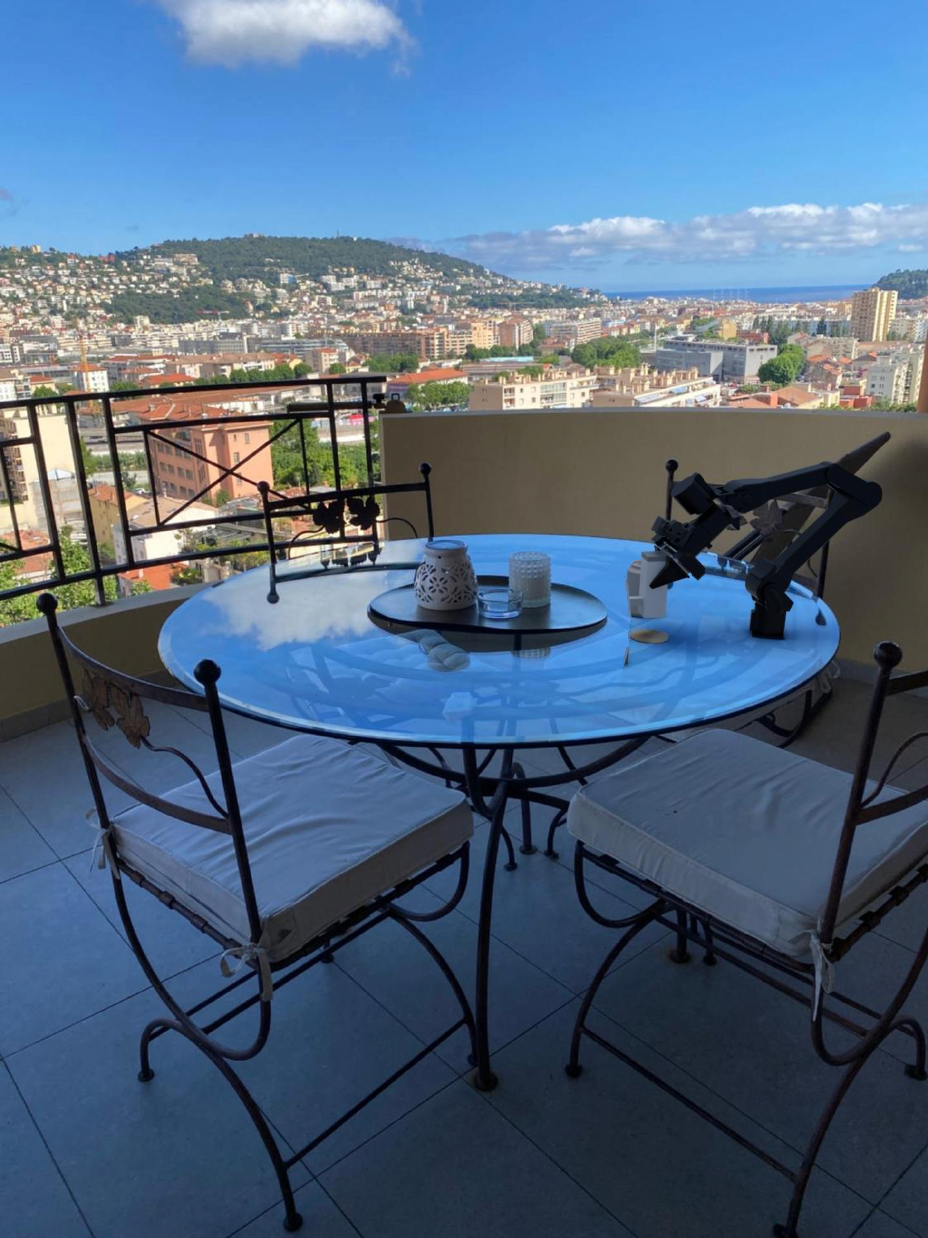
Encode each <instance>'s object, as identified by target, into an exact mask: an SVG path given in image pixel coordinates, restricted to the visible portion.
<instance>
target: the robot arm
mask: <svg viewBox="0 0 928 1238" xmlns="http://www.w3.org/2000/svg"><path fill="white" fill-rule="evenodd" d="M825 485H827V486H829V488H831V489H833V490H834V494H832V495H833V496H832V498H831V501H830V502H829V503H830V504H829V506H828V507H827V509H826V510H825V511H823V513H821V515H820V516H818V518H816V519H815V520H814V521H813V522H812V523H811V524H810V525H809V526H807V528H806V529H805V530H804V531H803V532H802V533H801V534H800V535H799V536H798V537H797V538H796V539H795V540H793V542H791V543H790V544H789V545H788V547H786V548H785V549H784V551H782V552H781V553H780V554H779V555H778V556H777V557H774V559H771V560H769V559H767V558H765V557H761V558H760V559H759V560H758V562H757V563H756V564H755V565H754V566H753V567H751V568H750V569H748V570H747V571H748V572H749V573H748V574H747V575H746V577H745V579H744V587H745V590H746V591H747V593H749V594H750V596H751V600H752V601H753V602H754V606H753V607H754V608H752V609H751V610H750V615H749V623H748V624H749V625H748V628H749V629H748V630H749V632H750V633H751V636H752V637H754V638H755V637H756V638H765V639H766V638H767V639H778V640H784V639H785V638H786V636H785V627H786V621H787V619H786V618H787V612H791V609H792V608H793V606H794V603H795V602H794V601H793V600H792V598H790V596H789V595H788V594H787V593H786V591H787V590H788V589H789V588H790V586H791V584H792V581H793V578H794V575H796V573H797V572H798V571H799V569H801V567H803V566H804V564H805V563H808V561H809V560H810V559H811V558H812V557H813V556H814V555H815V554H816V553H817V552H818V551H819V550H821V548H823V547H824V546H825V545H826V544H827V543H828V542H829V541H830V540H831V539H832V538H833V537H834V536H835V535H836V534H837V533H838V532H839V531H840V530H842V529H843V528H844V527H845V525H847V524H849V523H850V522H852V521H855V520H858V519H860V518H862V517H864V516H866V515H867V514H869V513H870V512H872V511H873V510H874V509H875V508H877V507H878V506H879V505H880V503H881V502H882V500H883V488H882V487H881V485H880V484H879V483H877V482H875V481H872V480H868V479H866V478H863V477H862V478H861V477H860V476H858V475H856V474H854V473H852V472H851V471H849V470H847V469H845V468H844V467H842V465H840V464H839V463H835V462H832V461H828V460H824V461H821V462H820V463H817V464H814V465H809V466H806V467H802V468H798V469H794V470H791V471H787V472H783V473H780V474H777V475H772V476H769V477H764V478H763V477H762V478H761V477H760V478H739V479H733V480H729V481H728V482H726V483H725V484H724V485H721V486H715V487H711V486H710V485H709V484H708V483H707V482H706V480H705V479H704V477H703V476H702V474H701V473H700V472H698V471H695V472H694V473H692V475H690V476H687V477H685V478H683V479H682V480H679V482H676V485H674V486H673V488H672V489H671V491H670V496H671V497H672V499H674V500H675V501H676V503H677V504H678V505H679V506H680V507H681V508H682V509H683V510H684V511H685V512H686V513H687V514H688V515H689V516H692V515H696V516H697V517H695V519H693V520H692V521H691V522H688V521H686V522H681V521H679V520H676V519H672V520H668V519H667V518H664V517H662V516H660V515H657V517H656V519H655V521H654V523H653V525H652V527H651V528H650V530H651V531H653V532H654V533H655V535H653V537H652V538H651V539H650V540H651V542H653V544H654V545H653V548H654V551H664V552H665V553H666V554H668V555H667V557H666V565H665V566H664V567H663V569H662V570H661V571H660V572H659V573H658V575H657V576H656V577H655V578H654V579H653V581H652V582H651V583H650V585H649V587H650V588H651V589H655V588H658V587H661V586H664V585H666V584H668V585H669V584H672V583H675V582H677V581H681V580H684V579H690V578H691V576H692V578H694V579H695V580H697V581H699V580H701V579H702V578H703V577H704V576H705V574H706V567H705V566H704V564H703V563H702V562H701V561H700V560H699V559H698V558H697V557H698V556H699V555H700V554H701V553H702V552H703V551H704V550H705V549H707V550H711V549H712V548H713V546H714V545H713V544H712V543H713V541H714V540H716V539H717V538H718V537H719V536H720V535H721V534H722V533H723V532H724V531H725V530H726V529H727V528H728V527H730V528H732V529H734V530H735V531H740V530H741V519H742V518H741V516H739V515H737V514H733V513H732V512H730V510H728V508H730V509H732V510H734V511H735V512H737V513H741V514H743V513H744V514H745V513H749V512H751V511H754V510H756V509H758V508H761V507H762V506H765V505H766V504H767V503H768V502H770V501H771V500H773V499H776V498H779V497H783V496H787V495H791V494H794V493H798V492H803V491H805V490H809V489H813V488H816V487H817V488H818V487H821V486H825ZM715 501H717V502H718V503H720V504H723V505H724V506H719V505H718V504H716V502H715ZM727 507H728V508H727ZM689 574H691V576H690V575H689Z"/></svg>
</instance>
